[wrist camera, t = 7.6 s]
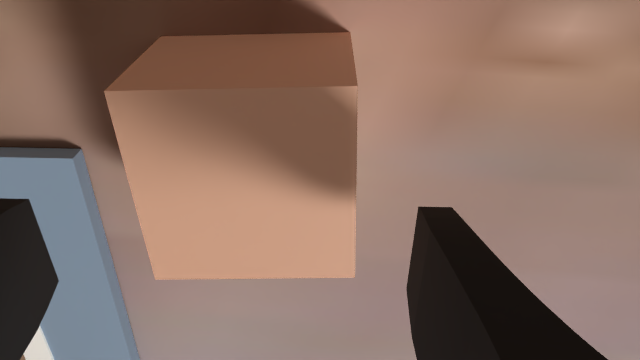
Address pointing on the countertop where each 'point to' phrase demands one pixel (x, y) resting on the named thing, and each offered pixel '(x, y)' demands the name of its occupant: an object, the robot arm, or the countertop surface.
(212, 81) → the terracotta block
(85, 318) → the plan board
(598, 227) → the countertop surface
